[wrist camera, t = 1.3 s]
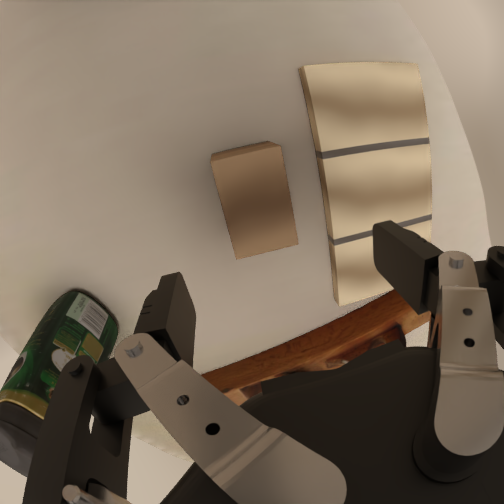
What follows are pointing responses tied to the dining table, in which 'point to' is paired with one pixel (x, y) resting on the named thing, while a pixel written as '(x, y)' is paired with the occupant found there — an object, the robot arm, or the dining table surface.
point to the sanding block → (255, 198)
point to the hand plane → (321, 347)
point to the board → (368, 162)
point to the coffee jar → (49, 370)
